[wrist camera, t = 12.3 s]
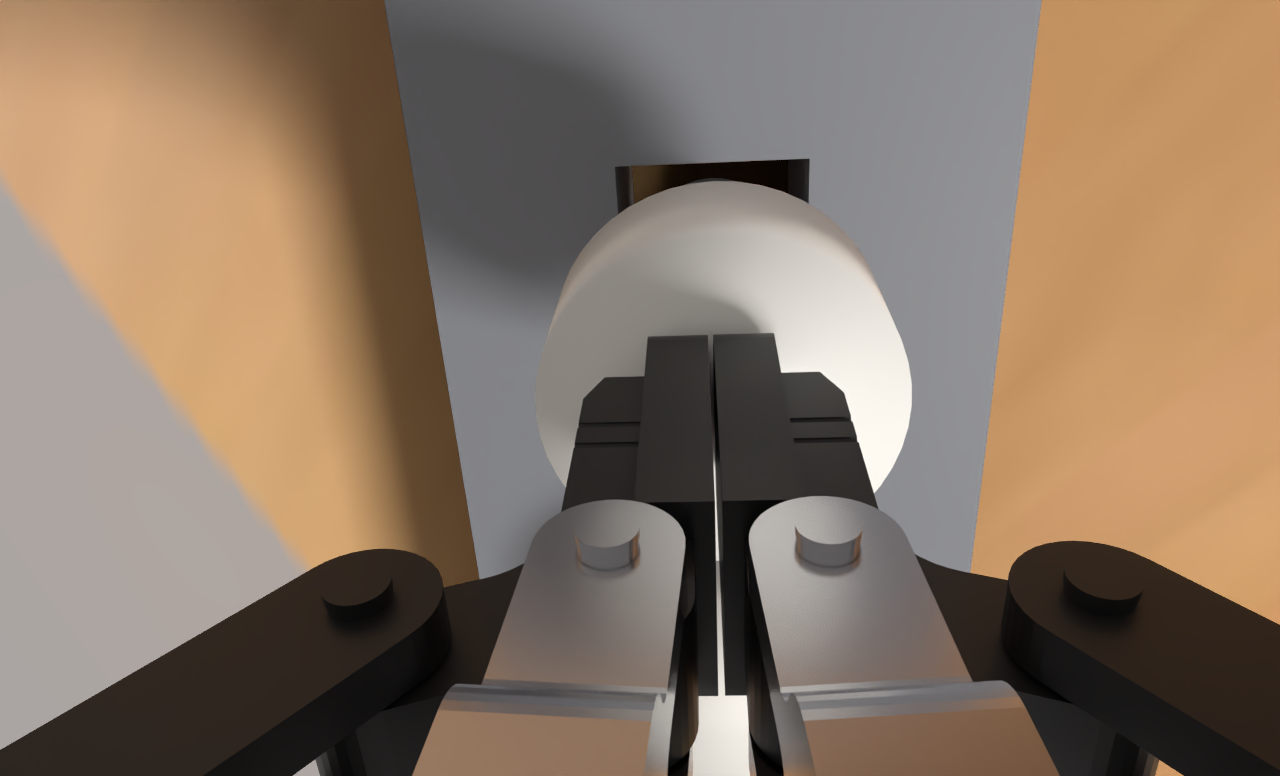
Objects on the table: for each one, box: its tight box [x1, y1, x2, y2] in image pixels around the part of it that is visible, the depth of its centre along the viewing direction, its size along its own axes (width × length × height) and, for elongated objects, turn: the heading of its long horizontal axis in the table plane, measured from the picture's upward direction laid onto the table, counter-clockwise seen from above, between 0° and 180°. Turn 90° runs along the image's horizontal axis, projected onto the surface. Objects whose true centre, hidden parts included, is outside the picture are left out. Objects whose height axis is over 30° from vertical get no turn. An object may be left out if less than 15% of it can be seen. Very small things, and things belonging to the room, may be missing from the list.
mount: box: [384, 0, 1042, 579], centre depth 19 cm, size 10×26×4 cm, turn 3°
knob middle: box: [535, 178, 912, 561], centre depth 15 cm, size 5×5×6 cm
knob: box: [693, 561, 750, 776], centre depth 21 cm, size 5×5×6 cm
